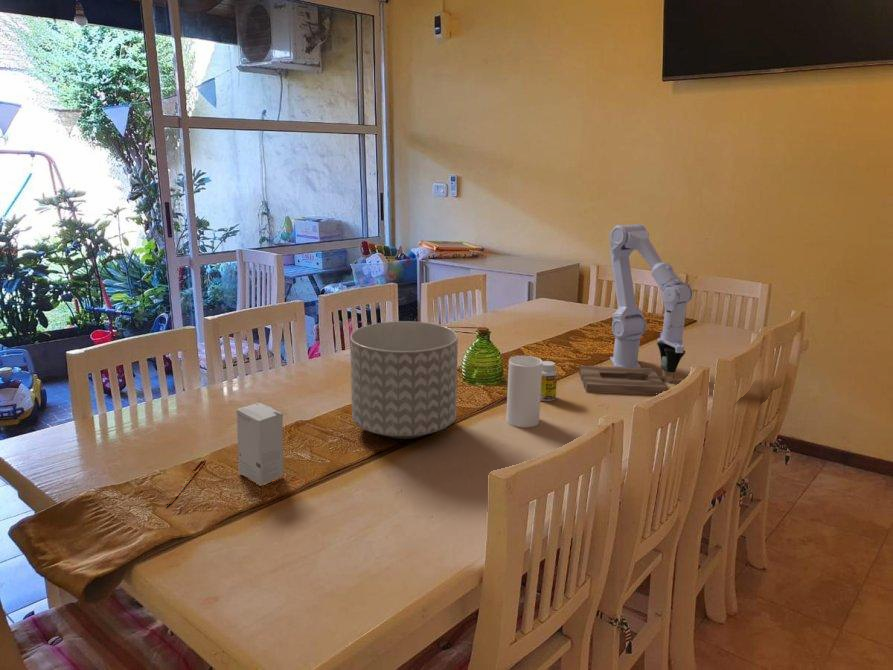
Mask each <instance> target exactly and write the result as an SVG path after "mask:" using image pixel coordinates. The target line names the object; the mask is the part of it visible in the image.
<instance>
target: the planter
mask: <svg viewBox="0 0 893 670" xmlns="http://www.w3.org/2000/svg"><path fill="white" fill-rule="evenodd" d="M458 344H459V336H458V333H457V332H456V331H454V330H453V329H452V328H450V327H447V326H444V325H441V324H437V323H431V322H424V321H414V320H413V321H411V320H410V321H409V320H406V321H405V320H404V321H403V320H400V321H398V320H397V321H385V322H378V323H377V322H376V323H373V324H368V325H364V326H361V327H359V328H357V329H355V330H353V332H351V333H350V335H349V347H350V348H349V349H350V352H349V353H350V355H349V356H350V386H351V387H350V391H351V393H350V394H351V418H352V421H353V422H354V424H355V425H357V426H358V427H359V428H361V429H362V430H365V431H367V432H370V433H373V434H377V435H381V436H383V437H387V438H392V439H398V440H406V439H407V440H409V439H414V438H415V439H416V438H420V437H421V438H422V437H423V436H426V435H427V436H428V435H429V434H433V433H436V432H439V431H441V430H444V429H446V428H448V427H449V426H451V425H452V424H453V423H454V422H455V420H456V418H457V402H458V401H457V400H458V399H457V397H458V396H457V394H458V393H457V392H458V386H457V385H458V356H459V355H458V353H459V352H458V351H459V347H458V346H459V345H458Z"/></svg>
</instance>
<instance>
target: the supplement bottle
mask: <svg viewBox="0 0 893 670" xmlns="http://www.w3.org/2000/svg"><path fill="white" fill-rule="evenodd" d="M542 363H543V364H542V381H541V397H540V402H552V401H554V400H555V399H556V397H557V396H556V394H557V383H558V370H557V369H556V363H555V362H553V361H551V360H549V361H548V360H542Z"/></svg>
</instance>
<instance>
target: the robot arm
mask: <svg viewBox="0 0 893 670" xmlns="http://www.w3.org/2000/svg"><path fill="white" fill-rule="evenodd" d="M608 237H609V244H610V249H609V250H610V252H609V255H610V262H611V268H612V275H613V280H614V281H613V284H614V289H615V297H616V302H617V303H616V304H617V309H616V310H615V312H614V313H612V315H611V317H612V318H611V319H612V323H611V332H612V334H613V336H614V338H615V339H614V344H613V345H614V346H613V356H610V357H609V359H610V361H611V363H612V365H613V367H631V368H642V367H641V365H640V363H639V362H638V361H639V360H638V359H639V352H640V351H639V350H640V341H641V338H642V335H643V334H644V333H646V330H647V328H648V327H647V321H646V318H644V314H643V310H641V309H640V308H639V307H638V306H637V304H636V298H635V297H636V296H635V291H634V283H633V282H634V281H633V277H632V270H631V268H632V267H631V261H630V255H631V254H632V253H633V252H634V251H637V252H638V253H639V254H640V255H641V256H642V258H643V260H645V262H646V263H647V264H648V265H649V267H650V268H651V276H652V278H653V279H654V280H655V282H656V284H657V285H658V286H659V288H660V290H661V291H662V292H661V297H662V300H663V307H664V313H663V315H664V316H663V323H662V324H663V325H662V332H660V335H659V337H658V338H657V342H656V344H657V345H656V346H657V347H658V349H659V354H660V362H661V361H662V357H663V356H666V358H667V371H668V372H673V373H675V372H676V371H677V369H678V366H679V363H680V361H681V359H682V358H683V357H684V355H685V354H686V351H685V347H684V345H683V344H684V341H683V337H684V336H683V335H684V327H685V320H686V312H687V305H688V302H690V301H691V299H692V298H693V289H692V287H691V285H690V284H689V283H687V282H684V281H683V280H681V278H680V277H678V275H677V274H676V272H675V271H674V270H673V268H674V267H673V265H671V264H669V263H667V262H663V261H662V259H661V258H660V256H659V254H658V252H657V250H656V248H655V247H654V245H653V243H652V241H651V240H650V233H649V232H648V230H647V228H646V227H645V226H644V224H641V223H636V224H624V225H623V224H622V225H621V224H620V225H619V224H617V225H615V226H614V227H613V228H612V229H611V231H610V232H609V234H608Z"/></svg>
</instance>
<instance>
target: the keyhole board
mask: <svg viewBox="0 0 893 670" xmlns="http://www.w3.org/2000/svg"><path fill="white" fill-rule="evenodd" d="M578 375H579V378H580V380H581V382H582V384H583V387H584V389H585V392H586V393H597V394H598V393H599V394H601V393H603V394H627V395H630V394H631V395H653V394H654V396H657V395H656V393H657V394H659V393H662V392H663V391H666V390H667V386H666V385H665V382H663V381H662V378H661V377H660V376H659V375H658V374H657V372H656V371H655V369H654V368H653V367H641V368H631V367H615V366H603V365H602V366H598V365H579V367H578Z"/></svg>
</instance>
